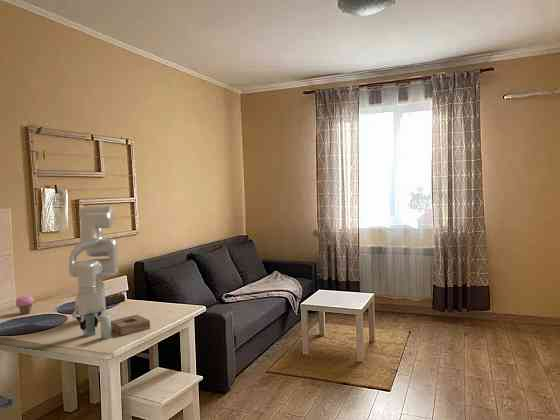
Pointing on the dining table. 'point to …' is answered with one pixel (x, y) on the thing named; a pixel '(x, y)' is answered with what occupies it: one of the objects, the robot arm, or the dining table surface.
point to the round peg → (105, 326)
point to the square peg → (89, 325)
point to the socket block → (130, 325)
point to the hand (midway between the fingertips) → (89, 327)
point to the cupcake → (24, 304)
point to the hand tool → (115, 299)
